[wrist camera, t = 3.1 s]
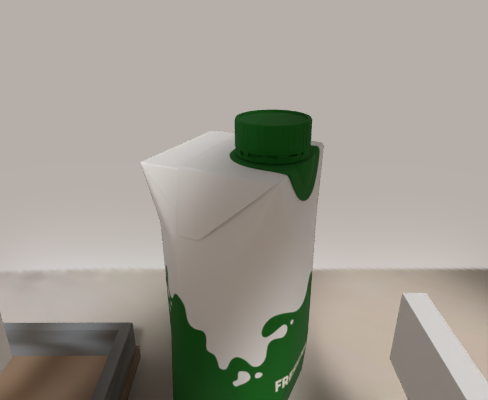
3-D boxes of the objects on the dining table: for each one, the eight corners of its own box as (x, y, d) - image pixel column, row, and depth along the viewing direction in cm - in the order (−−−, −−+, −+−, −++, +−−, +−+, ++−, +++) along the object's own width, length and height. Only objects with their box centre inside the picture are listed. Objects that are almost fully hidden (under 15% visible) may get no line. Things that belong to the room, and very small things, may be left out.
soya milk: (274, 465, 25) (286, 143, 17) (153, 409, 28) (114, 122, 20) (316, 364, 32) (339, 105, 24) (215, 330, 36) (205, 95, 28)
